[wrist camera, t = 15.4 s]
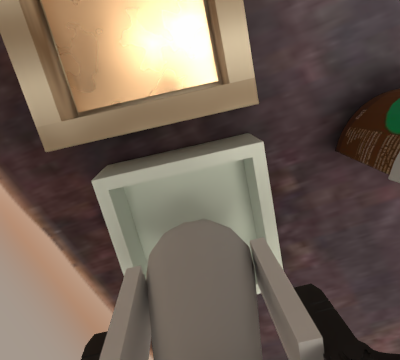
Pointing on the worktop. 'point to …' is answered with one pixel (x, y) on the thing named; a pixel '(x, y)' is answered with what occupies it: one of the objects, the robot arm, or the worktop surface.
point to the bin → (187, 196)
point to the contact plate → (130, 48)
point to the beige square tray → (132, 110)
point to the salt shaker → (203, 295)
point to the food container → (375, 134)
